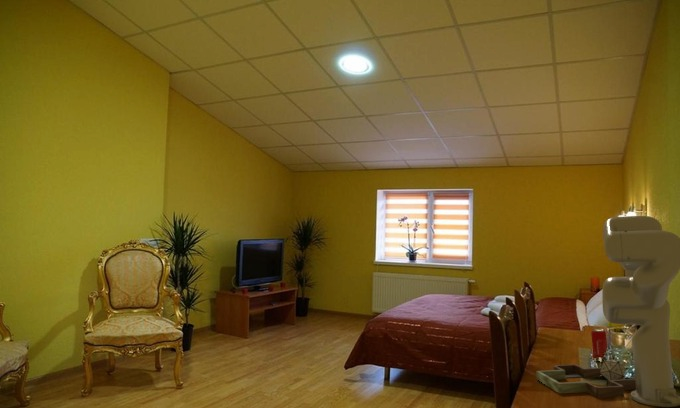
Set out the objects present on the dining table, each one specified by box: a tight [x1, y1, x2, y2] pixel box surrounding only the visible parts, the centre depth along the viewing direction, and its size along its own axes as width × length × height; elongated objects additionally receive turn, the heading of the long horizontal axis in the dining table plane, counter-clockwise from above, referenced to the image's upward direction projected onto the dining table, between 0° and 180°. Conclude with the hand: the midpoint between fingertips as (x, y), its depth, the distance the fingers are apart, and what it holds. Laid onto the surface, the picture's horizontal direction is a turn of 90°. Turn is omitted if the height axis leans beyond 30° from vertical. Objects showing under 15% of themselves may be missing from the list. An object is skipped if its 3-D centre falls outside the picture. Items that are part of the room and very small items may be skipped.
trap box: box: [535, 363, 636, 399], centre depth 156 cm, size 27×30×3 cm
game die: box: [597, 356, 629, 381], centre depth 157 cm, size 9×8×10 cm
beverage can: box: [590, 328, 608, 359], centre depth 185 cm, size 5×5×12 cm
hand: (643, 336), depth 159 cm, fingers closed
